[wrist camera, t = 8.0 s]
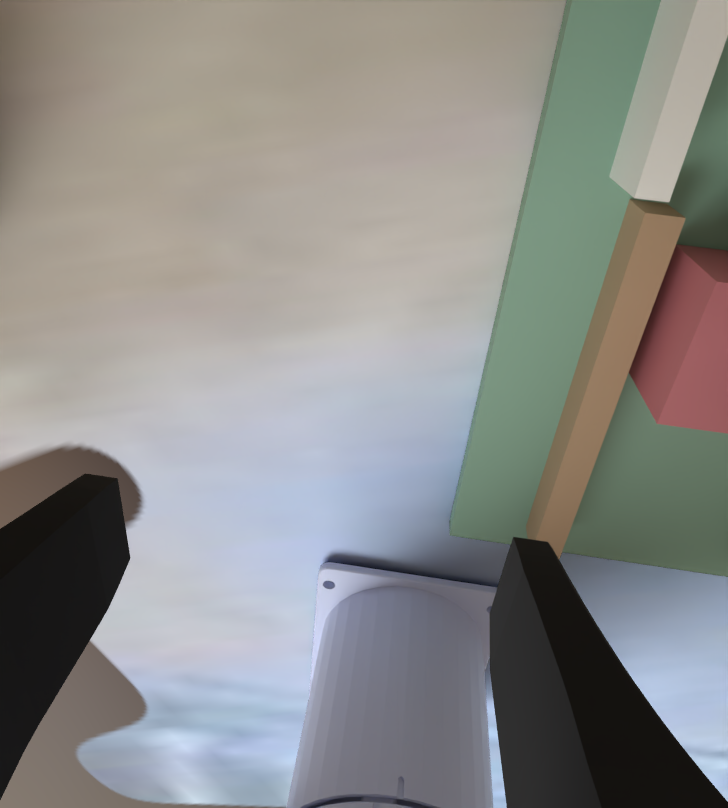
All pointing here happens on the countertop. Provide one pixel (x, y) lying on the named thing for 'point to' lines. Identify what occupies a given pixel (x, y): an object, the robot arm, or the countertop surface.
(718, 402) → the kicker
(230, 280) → the countertop surface
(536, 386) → the pitch
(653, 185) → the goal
